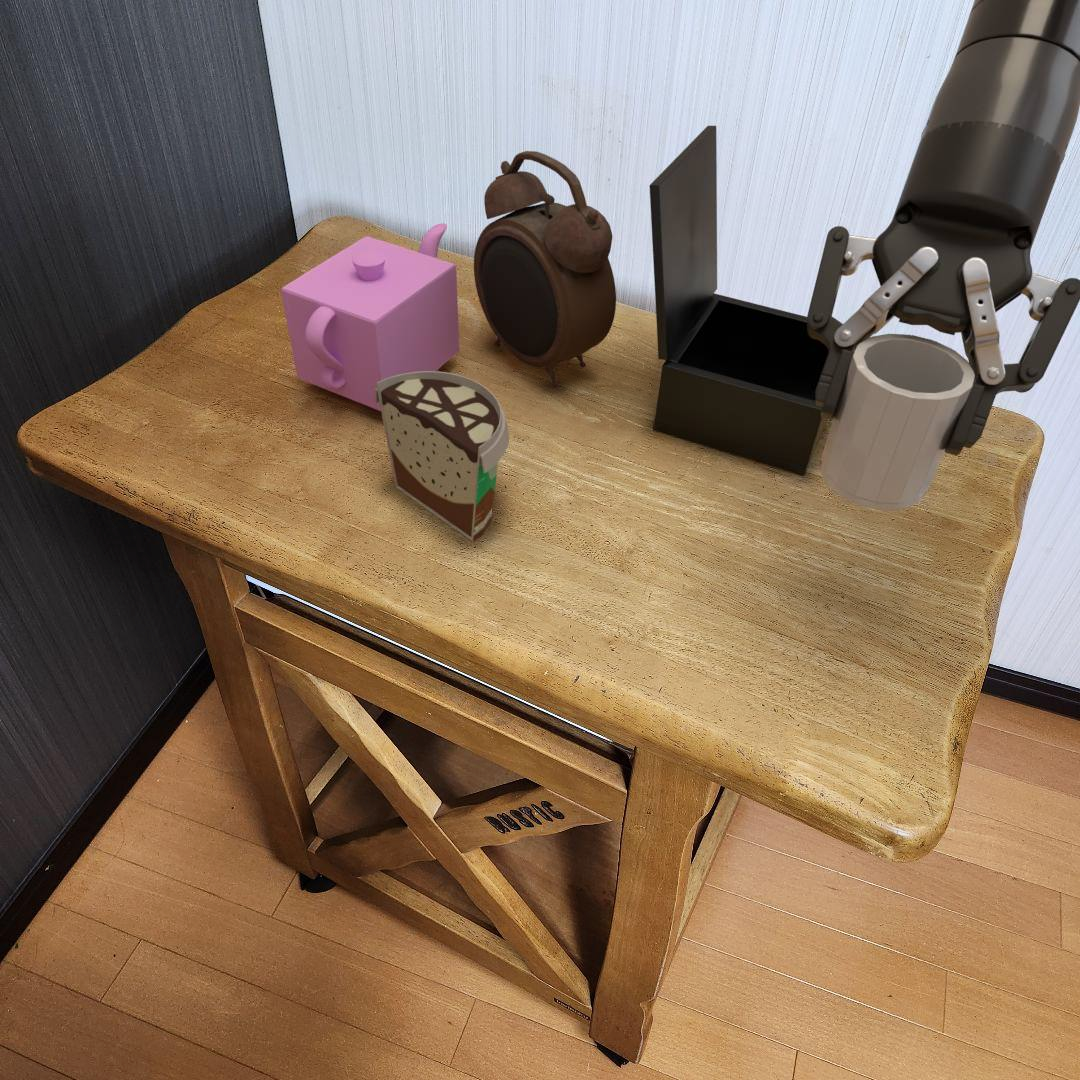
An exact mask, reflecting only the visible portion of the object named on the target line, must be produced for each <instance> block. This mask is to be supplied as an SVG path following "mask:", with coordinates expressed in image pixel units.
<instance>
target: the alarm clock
mask: <svg viewBox="0 0 1080 1080" xmlns="http://www.w3.org/2000/svg"><path fill="white" fill-rule="evenodd" d="M525 160H526V161H532V162H535V163H538V164H540V165H542V166H543V167H546V168H548V169H550V170H552V171H553V172H555V173H556V174H557V175H558V176H559V177H560V178H561V179H563V181H565V182H566V183H567V185H568V187H569V190H570V193H571V196H572V199H573V202H574V203H573V204H569V205H564V204H562V203H559V202H555V200H556V199H555V197H554V196H553V195H551V194H549V193H548V192H547V189H546V188H545V186H544V184H543V182H542V181H541V179H540V178H539V177H538V175H535V174H534V173H532V172H530V171H524V170H520V168H521V167H522V166H523V163H524V161H525ZM500 169H501V173H502V174H501V175H498V176H496V177H495V179H494V180H493V181H492V182H491V183H490V184H489V185H488V186H487V188H486V190H485V192H484V196H483V198H484V199H483V203H484V213H485V217H486V220H491V219H494V218H497V219H495V220H494V221H492V222H490V223H489V224H487V225H486V226H485V227H484V228H483V230H482V231H481V233H480V235H478V236H479V237H478V238H477V241H476V245H475V250H474V255H473V274H474V275H473V277H474V283H475V288H476V294H477V296H478V297H477V298H478V301H479V303H480V306H481V309H482V312H483V314H484V317H485V319H486V321H487V323H488V325H489V327H490V329H491V330H492V332H493V334H494V335H495V337H496V340H494V342H493V345H494V347H495V348H500V347H501V345H502V346H503V347H504V348H505V349H506V351H507V352H508V353H510V354H511V355H512V356H513V357H514V358H515V359H516V360H518V361H519V362H521V363H522V364H524V365H526V366H529V367H532V368H536V369H544V370H545V371H546V373H547V375H548V377H549V379H550V381H551V383H550V386H551V387H552V388H557V387H558V386H559V382H558V381H557V377H556V371H555V366H556V365H559V364H563V363H566V362H569V361H571V360H573V359H576V360H577V361H578V363H579V367H580V368H582V369H583V368H586V367H587V363H586V361H584V358H583V355H584V354H585V353H586V352H588V351H590V350H591V349H593V348H595V347H596V346H597V345H600V343H602V342H603V341H604V340H605V339H606V337H607V336H608V335H609V333H610V330H611V329H612V327H613V323H614V320H615V316H616V309H617V291H616V290H617V289H616V281H615V276H614V273H613V272H614V271H613V268H612V265H611V262H610V260H609V255H610V253H611V250H612V243H613V231H612V228H611V225H610V223H609V221H608V220H607V218H606V217H605V216H604V215H603V214H602V213H601V211H599V210H598V209H596V208H594V207H592V206H590V205H587V201H586V196H585V193H584V190H583V187H582V184H581V181H580V179H579V178H578V176H577V174H576V173H574V171H572V170H571V169H570V168H569V167H568V166H567V165H566V164H564V163H562V162H561V161H559V160H558V159H556V158H554V157H552V156H550V155H547V154H545V153H542V152H540V151H535V150H533V151H532V150H525V151H521V152H519V153H517V154H515V156H514V157H513V159H512V161H511V163H509V162H508V160H503V161H502V162H501V164H500ZM519 170H520V171H519ZM542 202H543V203H542ZM500 216H501V217H500ZM498 217H499V218H498Z"/></svg>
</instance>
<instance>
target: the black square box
mask: <svg viewBox="0 0 1080 1080" xmlns="http://www.w3.org/2000/svg"><path fill="white" fill-rule="evenodd" d="M828 354H829V350H828V348H827V346H826V345H825V344H823V343H822V342H820V341H819V340H817V339H813V338H811V337H810V336H809V335H808V332H807V315H802V314H798V313H794V312H789V311H785V310H782V309H777V308H773V307H771V306H767V305H762V304H758V303H754V302H750V301H745V300H742V299H738V298H734V297H730V296H728V295H727V296H726V295H724V294H722V295H721V294H719V293H714V294H713V295H712V297H711V298H710V300H709V301H708V303H707V304H706V305H705V307H704V308H703V310H702V311H701V313H700V314H699V315H698V317H697V318H696V320H695V321H694V323H693V324H692V325H691V327H690V328H689V330H688V331H687V332H686V334H685V335H684V337H683V338H682V340H681V341H680V342H679V344H678V345H677V347H676V348H675V350H674V351H673V352H672V354H671V355H670V357H669V358H668V360H664V362H663V363H662V365H661V371H660V376H659V377H660V379H659V385H658V392H657V399H656V407H655V413H654V420H653V427H652V430H653V431H655V432H657V433H662V434H665V435H668V436H671V437H673V438H674V437H675V438H677V439H682V440H684V441H688V442H691V443H695V444H698V445H700V446H704V447H708V448H711V449H714V450H716V451H717V450H718V451H720V452H724V453H727V454H730V455H733V456H734V455H735V456H737V457H740V458H744V459H747V460H750V461H754V462H757V463H760V464H763V465H766V466H770V467H773V468H777V469H780V470H783V471H787V472H790V473H792V474H796V475H799V476H802V477H805V475H806V473H807V471H808V469H809V466H810V464H811V461H812V459H813V456H814V454H815V452H816V450H817V447H818V445H819V443H820V441H821V438H822V436H823V433H824V431H825V428H826V426H827V424H828V422H829V419H826V418H823V417H821V410H822V407H821V406H817V405H816V399H815V390H816V387H817V385H818V382H819V379H820V376H821V373H822V371H823V368H824V365H825V362H826V359H827V356H828Z"/></svg>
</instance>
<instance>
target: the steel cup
mask: <svg viewBox="0 0 1080 1080" xmlns="http://www.w3.org/2000/svg"><path fill="white" fill-rule="evenodd" d="M974 378H975V374H974V372H973V370H972V368H971V366H970V364H969V361H968V359H967V358H965V357H964V356H962V355H961V353H959V352H957V350H955V349H953V348H951V347H949V346H947V345H945V344H942V343H940V342H938V341H936V340H934V339H930V338H926V337H922V336H919V335H915V334H912V335H911V334H905V333H903V334H902V333H885V334H879V335H872V336H871V337H870V338H868V339H867V340H865V341H863V342H862V343H860V344H858V345H857V347H856V350H855V352H854V354H853V357H852V360H851V363H850V366H849V370H848V374H847V377H846V380H845V383H844V386H843V390H842V393H841V396H840V399H839V403H838V406H837V409H836V412H835V415H834V418H833V420H831V424H830V428H829V432H828V434H827V438H826V441H825V444H824V447H823V450H822V454H821V458H820V462H819V472H820V476H821V478H822V480H823V481H824V483H825V484H826V485H827V487H828V488H829V489H830V490H831V491H832V492H834V493H835V495H837V496H839V497H841V498H842V499H844V500H845V501H848V502H849V503H851V504H854V505H856V506H859V507H862V508H865V509H869V510H874V511H884V512H885V511H889V512H890V511H891V512H892V511H900V510H904V509H908V508H912V507H914V506H915V505H917V504H918V503H920V502H921V501H922V500H923V499H924V497H925V496H926V494H927V491H928V490H929V489H930V487H931V484H932V482H933V480H934V477H935V475H936V472H937V470H938V468H939V466H940V464H941V462H942V458H943V456H944V453H945V449H946V446H947V444H948V441H949V439H950V437H951V434H952V432H953V430H954V427H955V425H956V423H957V420H958V418H959V416H960V413H961V411H962V409H963V406H964V404H965V402H966V400H967V398H968V396H969V393H970V391H971V389H972V386H973V382H974Z"/></svg>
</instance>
